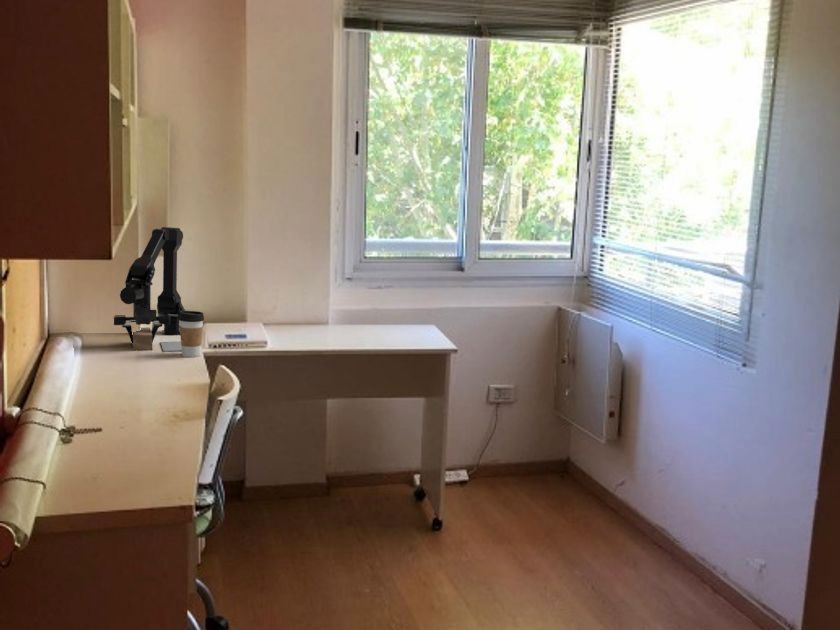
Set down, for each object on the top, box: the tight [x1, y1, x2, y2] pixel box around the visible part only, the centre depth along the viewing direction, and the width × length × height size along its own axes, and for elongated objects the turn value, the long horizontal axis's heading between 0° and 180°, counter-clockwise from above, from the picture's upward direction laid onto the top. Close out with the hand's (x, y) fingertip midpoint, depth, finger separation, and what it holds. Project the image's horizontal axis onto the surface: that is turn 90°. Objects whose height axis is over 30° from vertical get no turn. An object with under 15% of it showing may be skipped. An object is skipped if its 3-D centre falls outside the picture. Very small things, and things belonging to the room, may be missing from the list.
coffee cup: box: [178, 310, 205, 358], centre depth 305 cm, size 8×8×15 cm
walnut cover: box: [132, 327, 153, 352], centre depth 315 cm, size 12×6×6 cm, turn 20°
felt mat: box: [159, 340, 182, 353], centre depth 317 cm, size 14×9×1 cm, turn 20°
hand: (142, 343), depth 315 cm, fingers closed on walnut cover, 6 cm apart
